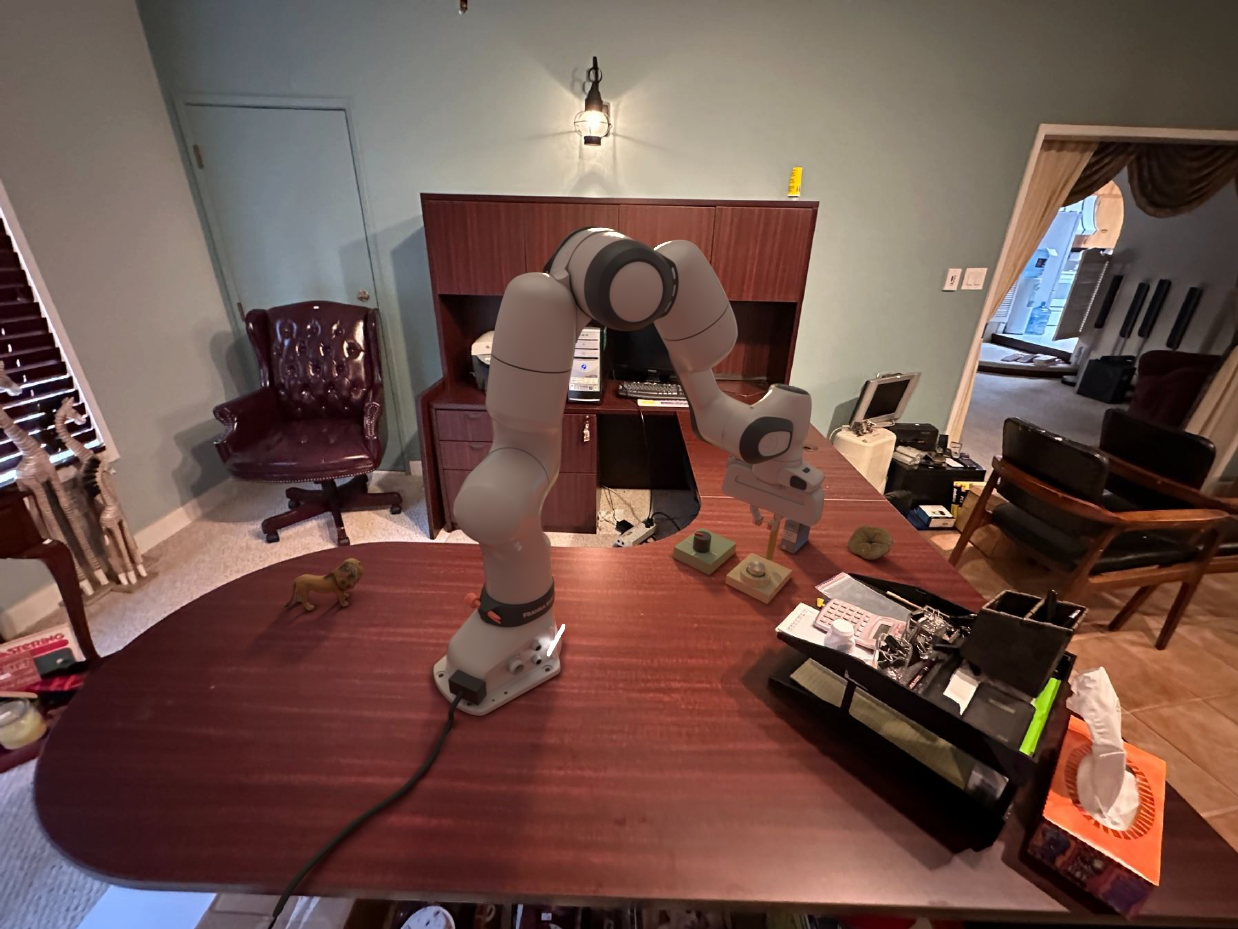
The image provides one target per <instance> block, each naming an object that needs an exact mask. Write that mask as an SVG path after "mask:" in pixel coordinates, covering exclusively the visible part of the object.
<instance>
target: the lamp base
mask: <svg viewBox="0 0 1238 929" xmlns="http://www.w3.org/2000/svg"><path fill="white" fill-rule="evenodd" d="M751 561H758V562H761V563H763V564H764V565H765V573H764V576H763V577H754V576H752V575H750V574H748V572H747V569H748V564H749V562H751ZM792 573H793V570H792V569H790V568H788V567H786V566H783V565H781V564H779V563H776V562H774V561H772V560H767V559H766V558H765V557H762V556H760V555H758V554H756V553H754V552H751V553H749V554H748V555H747V556H746V557H745V558H744V559H742V560H741V561H740V562H739V563H738V564H737V565H736V566H735V567H734V568H733V569H731V570H730V571H729V572H728V573H727V574H726V576H725V581H724V584H726V585H727V586H729V587H732V588H733V589H736V590H737V591H740V592H742V593H744V594H746V595H748V596H750V597H752V598H754V599H756V600H758V601H760V602H763V603H764V604H766V605H768V604H769V603H770V602H771V601H772V599H773V598H774V597H775V596H776V595H777V594H778V593H779V592H780V590H781V589H782V588H783V587H784V586H785V585H786V584H787V583H788V581H789V580H790V579H791V577H792Z"/></svg>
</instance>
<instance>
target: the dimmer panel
mask: <svg viewBox="0 0 1238 929" xmlns="http://www.w3.org/2000/svg"><path fill="white" fill-rule="evenodd" d="M697 531H705V532H708V533H710V534H711V536H712V537H711V544H710V550H709V551H708V552H706V553H700V552H697V551H695V550H694V549H693V539H694V533H695V532H697ZM736 549H737V542H736V541H733V540H731V539H729V538H726V537H724V536H722V535H719V534H717V533H715V532H713V531H711V530H708V529H706V528H703V527H699V528H698V529H697V530H695V531H694V532H693V533H691V534H690V535H688V536H687V537H685V538H684V539H683V540H681V541H679V543H677V544H675V545H674V546H673V550H672V558H673V559H675V560H678V561H679V562H682V563H683V564H685V565H688V566H690V567H692V568H694V569H696V570H698V571H700V572H702V573H703V574H706V575H708V576H710V575H711V574H713V573H714V572H715V571H716V570H717V569H719V567H721V566H722V565H723V564H724V563H725V562H726V561H728V559H731V557H732V556H733V555H735V554H736Z"/></svg>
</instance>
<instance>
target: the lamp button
mask: <svg viewBox="0 0 1238 929" xmlns="http://www.w3.org/2000/svg"><path fill="white" fill-rule="evenodd" d="M747 572H748V574H750V575H752V576H754V577H763V576H764V573H765V565H764V564H763V563H761V562H758V561H751V562H749V564H748V569H747Z"/></svg>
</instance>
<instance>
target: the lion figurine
mask: <svg viewBox="0 0 1238 929" xmlns="http://www.w3.org/2000/svg"><path fill="white" fill-rule="evenodd" d="M363 575H364V568H363V566H362V563H361V561H360V560H358V559H356V558H354V557H349V558H346V559H345V560H343V562H341V564H340V565H339V566H337V567H336V568H335V569H333V570H331V571H330V572H329V573H328V574H325V575H315V574H311V573H310V574H309V573H305V574H301V575H300V576H297V577H296V578H294V580H293V582H292V584H291V593H290V598H289V601H288V602H286V604H284V606H283V608H288V607H290V606H291V605H292V603H293V601H294V599H295V600H296V602H298V603H302V605H303V607H305V609H306V610H307V611H308V612H309V611H310V612H311V611H313V610H314V609H315V606H314V605H313V604H310V603H308V602H309V601H308V598H309V594H310V591H313V592H316V593H318V594H332V593H334V594H335V595H336V597H337V599H338V602H339V604H340V605H341V607H343V608H346V607H348V606H349V604H350V603H349V601H346V599H347V598H349V596H350V595H349V593H346V592H347V591H349V590H353V589H354V588H355V586H356V584H358V582H359V581H360V580H361V579H362V578H363Z"/></svg>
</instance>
